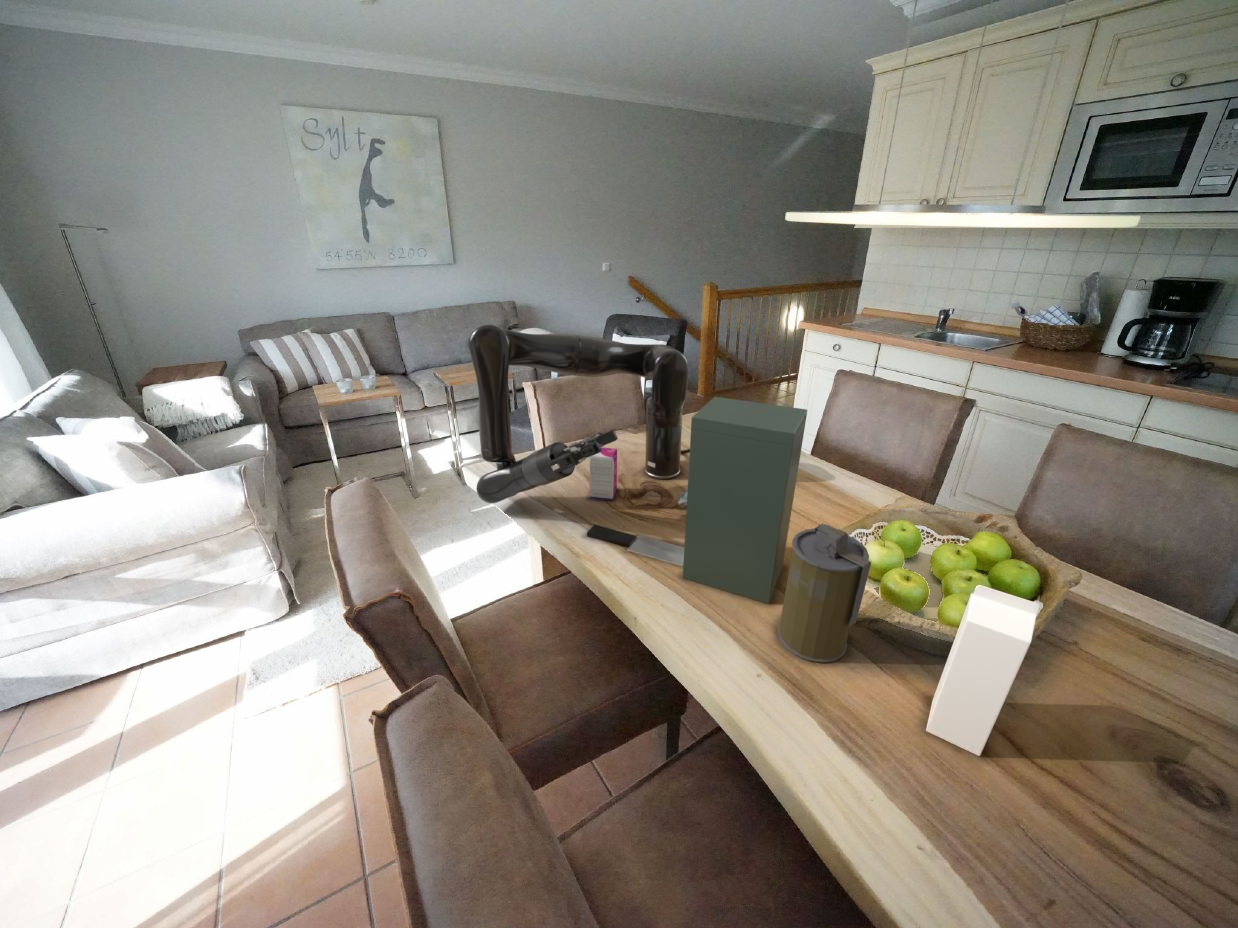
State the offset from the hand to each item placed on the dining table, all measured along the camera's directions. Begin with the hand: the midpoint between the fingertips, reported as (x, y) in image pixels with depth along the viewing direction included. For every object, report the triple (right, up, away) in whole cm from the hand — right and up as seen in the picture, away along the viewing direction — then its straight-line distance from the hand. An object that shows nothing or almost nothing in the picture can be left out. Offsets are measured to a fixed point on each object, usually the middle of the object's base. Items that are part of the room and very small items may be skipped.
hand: (607, 440), depth 98 cm
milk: (+46, -39, -31) cm, 68 cm away
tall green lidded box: (+24, -25, -2) cm, 35 cm away
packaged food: (+23, -15, +20) cm, 34 cm away
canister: (+33, -33, -17) cm, 50 cm away
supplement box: (-1, -12, +27) cm, 29 cm away
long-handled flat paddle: (+6, -22, +7) cm, 24 cm away
